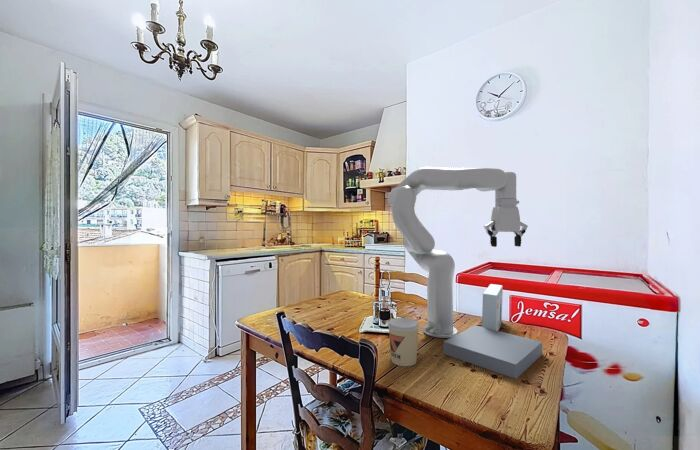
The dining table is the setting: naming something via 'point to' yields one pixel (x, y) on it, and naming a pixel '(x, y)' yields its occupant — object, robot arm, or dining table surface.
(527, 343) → the podium
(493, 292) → the skincare box
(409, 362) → the coffee cup
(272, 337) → the dining table surface
